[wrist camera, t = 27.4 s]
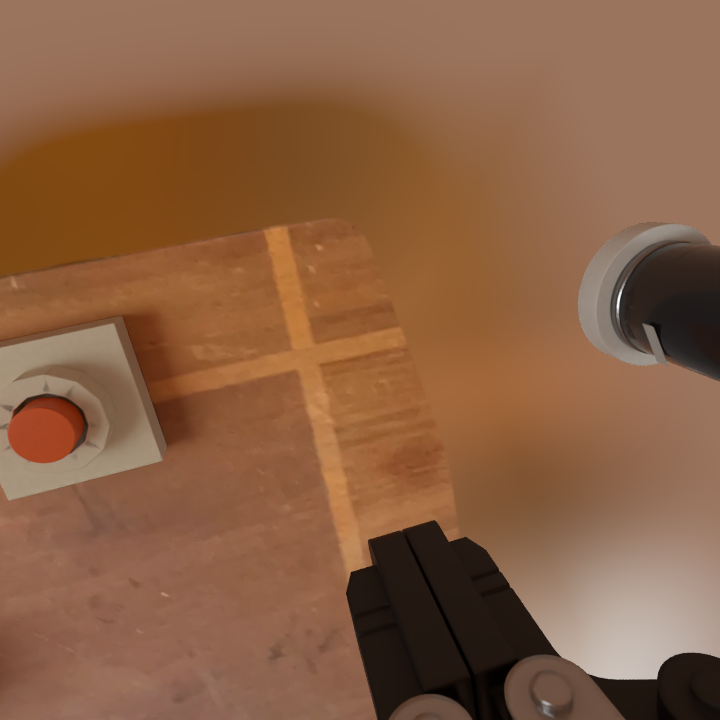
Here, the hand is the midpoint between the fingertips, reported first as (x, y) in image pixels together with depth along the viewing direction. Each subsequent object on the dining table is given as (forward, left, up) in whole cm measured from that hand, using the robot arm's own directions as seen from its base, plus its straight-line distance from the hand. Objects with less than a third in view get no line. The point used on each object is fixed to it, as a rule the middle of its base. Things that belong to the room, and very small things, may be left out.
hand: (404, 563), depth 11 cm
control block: (+16, +3, -27) cm, 32 cm away
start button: (+16, +3, -23) cm, 29 cm away
